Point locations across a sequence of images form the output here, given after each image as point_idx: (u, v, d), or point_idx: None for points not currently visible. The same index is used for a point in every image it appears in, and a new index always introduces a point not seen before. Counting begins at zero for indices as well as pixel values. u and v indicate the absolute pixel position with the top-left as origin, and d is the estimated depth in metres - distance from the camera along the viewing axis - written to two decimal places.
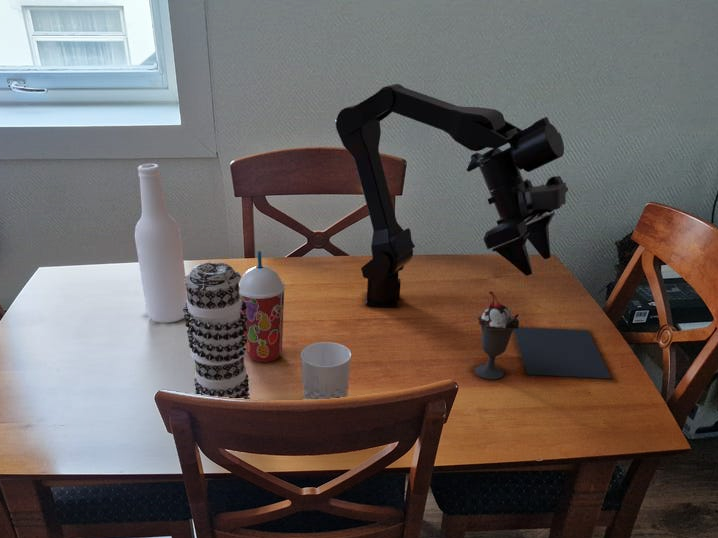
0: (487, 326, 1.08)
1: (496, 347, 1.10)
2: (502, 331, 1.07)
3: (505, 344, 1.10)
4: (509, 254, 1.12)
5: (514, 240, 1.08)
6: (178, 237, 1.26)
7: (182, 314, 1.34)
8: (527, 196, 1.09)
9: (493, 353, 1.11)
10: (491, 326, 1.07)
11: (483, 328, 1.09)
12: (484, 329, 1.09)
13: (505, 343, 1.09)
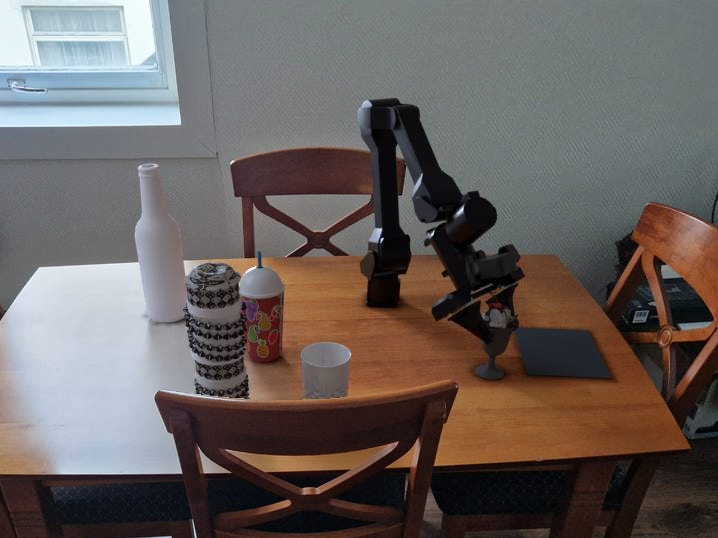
0: (487, 326, 1.08)
1: (496, 347, 1.10)
2: (502, 331, 1.07)
3: (505, 344, 1.10)
4: (466, 323, 1.08)
5: (463, 308, 1.05)
6: (178, 237, 1.26)
7: (182, 314, 1.34)
8: (474, 266, 1.06)
9: (493, 353, 1.11)
10: (491, 326, 1.07)
11: None
12: None
13: (505, 343, 1.09)
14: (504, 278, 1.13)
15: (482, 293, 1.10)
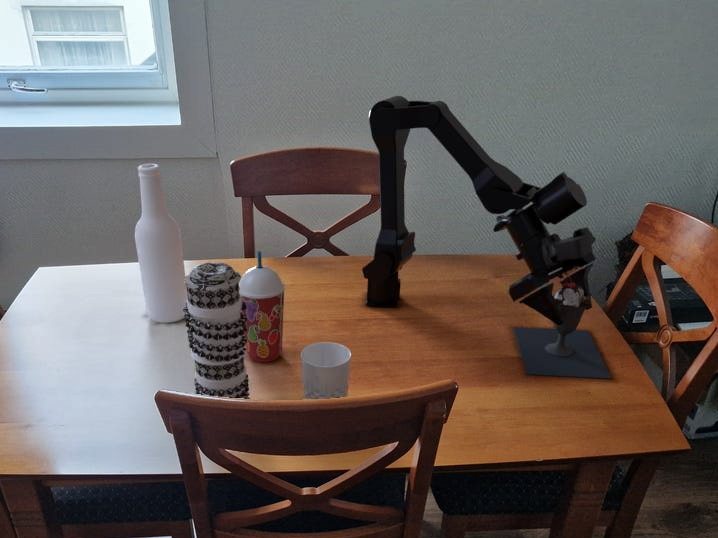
0: (561, 305, 1.13)
1: (568, 325, 1.15)
2: (575, 309, 1.13)
3: (577, 322, 1.15)
4: (537, 305, 1.13)
5: (537, 291, 1.10)
6: (178, 237, 1.26)
7: (182, 314, 1.34)
8: (550, 249, 1.11)
9: (565, 331, 1.16)
10: (564, 305, 1.13)
11: None
12: None
13: (577, 321, 1.15)
14: (575, 261, 1.19)
15: (556, 275, 1.15)
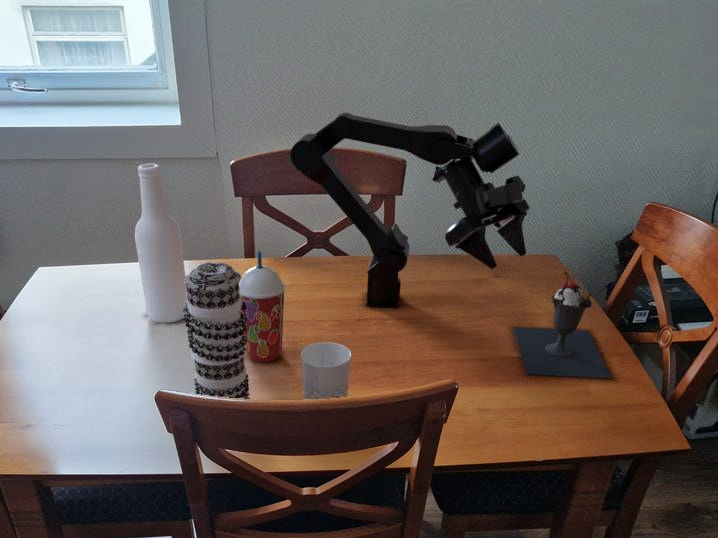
0: (561, 305, 1.13)
1: (568, 325, 1.15)
2: (575, 309, 1.13)
3: (577, 322, 1.15)
4: (472, 250, 1.19)
5: (469, 235, 1.16)
6: (178, 237, 1.26)
7: (182, 314, 1.34)
8: (483, 195, 1.18)
9: (565, 331, 1.16)
10: (564, 305, 1.13)
11: (556, 307, 1.15)
12: (557, 307, 1.14)
13: (577, 321, 1.15)
14: (510, 210, 1.25)
15: (491, 222, 1.22)
